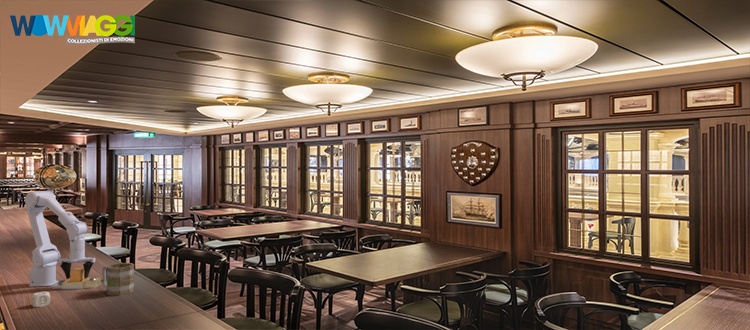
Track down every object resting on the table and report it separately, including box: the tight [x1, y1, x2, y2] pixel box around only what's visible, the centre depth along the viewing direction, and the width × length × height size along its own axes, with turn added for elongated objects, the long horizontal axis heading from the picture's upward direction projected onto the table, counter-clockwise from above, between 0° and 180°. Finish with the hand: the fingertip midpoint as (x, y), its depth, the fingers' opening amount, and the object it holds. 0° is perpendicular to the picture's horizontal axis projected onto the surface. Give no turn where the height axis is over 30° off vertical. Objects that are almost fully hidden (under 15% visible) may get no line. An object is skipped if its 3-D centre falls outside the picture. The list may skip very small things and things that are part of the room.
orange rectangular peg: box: [69, 267, 84, 282], centre depth 204 cm, size 4×4×8 cm
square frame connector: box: [51, 276, 102, 290], centre depth 204 cm, size 18×8×4 cm, turn 100°
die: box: [31, 291, 51, 308], centre depth 178 cm, size 5×5×5 cm
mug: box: [102, 262, 135, 297], centre depth 197 cm, size 16×11×12 cm
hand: (77, 278), depth 204 cm, fingers open, 7 cm apart
